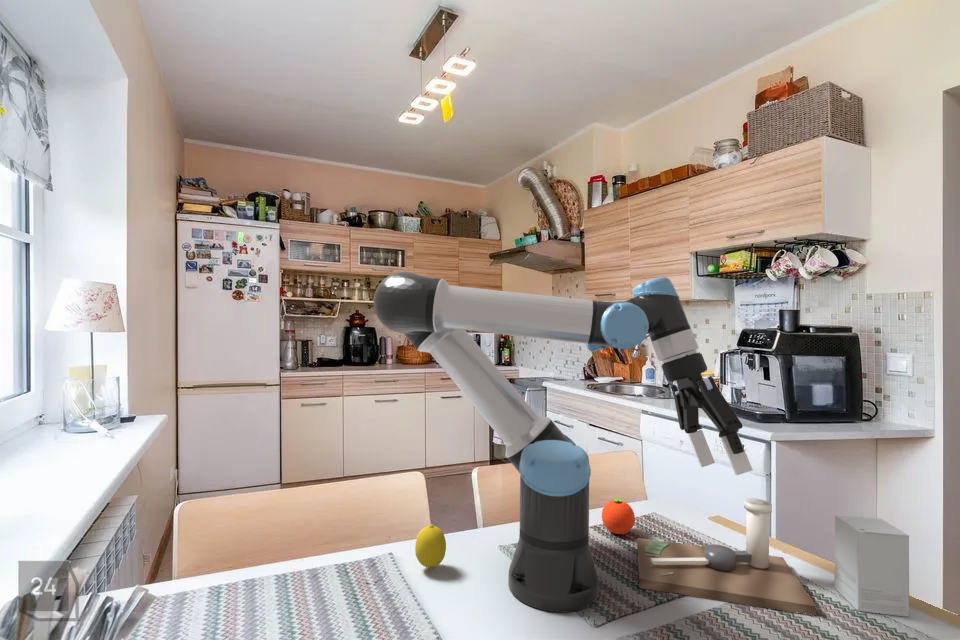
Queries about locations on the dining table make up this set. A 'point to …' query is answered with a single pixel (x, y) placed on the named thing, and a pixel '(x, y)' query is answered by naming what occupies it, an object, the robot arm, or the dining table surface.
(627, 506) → the clementine
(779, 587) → the brown wooden board
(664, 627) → the dining table surface
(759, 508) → the knobbed stick and post
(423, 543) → the lemon
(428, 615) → the dining table surface
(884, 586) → the supplement box
